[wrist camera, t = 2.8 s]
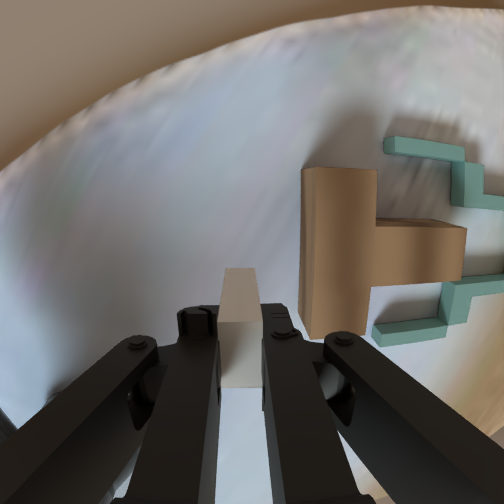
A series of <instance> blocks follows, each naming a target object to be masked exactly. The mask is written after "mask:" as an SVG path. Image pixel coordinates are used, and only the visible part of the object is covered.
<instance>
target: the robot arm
mask: <svg viewBox="0 0 504 504" xmlns="http://www.w3.org/2000/svg"><path fill="white" fill-rule="evenodd" d="M177 320H178V330H179V337H178V340H177V343H175V344H172V345H167V346H161V347H157V343H156V340H155V339H154V338H152V337H149V336H142V335H137V336H136V335H135V336H132V337H129V338H126V339H124V340H123V341H121V342H120V343H119V344H117V345H116V346H115V347H114V348H113V349H112V350H110V351H109V352H108V353H107V354H106V355H104V356H103V357H102V358H101V359H100V360H98V361H97V362H96V363H95V364H94V365H93V366H91V367H90V368H89V369H88V370H87V371H85V372H84V373H83V374H82V375H81V376H80V377H78V378H77V379H76V380H75V381H74V382H73V383H71V384H70V385H69V386H68V387H67V388H66V389H64V390H63V391H62V392H59V393H56V394H54V395H53V396H51V397H50V398H49V399H48V401H47V402H46V403H45V405H44V406H43V407H42V409H41V410H40V411H39V412H38V413H36V414H35V415H34V416H33V417H32V418H31V419H30V420H28V421H27V422H26V423H25V424H24V425H23V426H21V427H20V428H19V429H17V428H16V426H15V425H14V424H13V423H12V422H11V420H10V419H9V418H8V417H7V416H6V414H5V413H4V412H3V411H2V409H1V408H0V504H215V489H216V471H217V455H218V439H219V424H220V409H221V388H262V411H264V417H265V427H266V438H267V448H268V458H269V468H270V478H271V488H272V498H273V504H376V503H375V501H374V499H373V498H372V497H371V496H370V495H369V494H366V495H362V494H361V493H360V492H359V490H358V488H357V485H356V482H355V479H354V476H353V474H352V471H351V468H350V465H349V462H348V459H347V457H346V454H345V451H344V448H343V445H342V443H341V440H340V437H339V434H338V431H339V433H340V434H341V435H342V437H343V438H344V439H345V441H346V442H347V443H348V444H349V446H350V447H351V448H352V450H353V451H354V452H355V453H356V455H357V456H358V457H359V459H360V460H361V461H362V462H363V464H364V465H365V466H366V467H367V469H368V470H369V471H370V472H371V474H372V475H373V476H374V477H375V479H376V480H377V481H378V482H379V484H380V485H381V486H382V487H383V489H384V490H385V491H386V492H387V494H388V495H389V496H390V497H391V499H392V500H393V501H394V502H395V503H396V504H504V449H503V448H502V447H500V446H499V445H498V444H497V443H495V442H494V441H493V440H491V439H490V438H489V437H488V436H486V435H485V434H484V433H483V432H481V431H480V430H479V429H478V428H476V427H475V426H474V425H472V424H471V423H470V422H469V421H467V420H466V419H465V418H464V417H462V416H461V415H460V414H458V413H457V412H456V411H455V410H453V409H452V408H451V407H450V406H448V405H447V404H446V403H444V402H443V401H442V400H441V399H439V398H438V397H437V396H435V395H434V394H433V393H432V392H430V391H429V390H428V389H427V388H425V387H424V386H423V385H421V384H420V383H419V382H418V381H416V380H415V379H414V378H413V377H411V376H410V375H409V374H407V373H406V372H405V371H404V370H402V369H401V368H400V367H399V366H397V365H396V364H395V363H393V362H392V361H391V360H390V359H388V358H387V357H386V356H384V355H383V354H382V353H381V352H379V351H378V350H377V349H376V348H374V347H373V346H372V345H370V344H369V343H368V342H367V341H365V340H364V339H363V338H362V337H360V336H358V335H357V334H355V333H351V332H349V331H345V332H344V331H339V332H332V333H329V334H328V335H326V336H325V339H324V343H316V342H310V341H306V340H304V339H303V336H302V334H301V332H300V331H299V330H297V329H295V328H294V326H293V323H292V321H291V318H290V315H289V312H288V309H287V307H285V306H284V305H283V304H281V303H271V304H260V299H259V293H258V286H257V280H256V274H255V268H226V270H225V276H224V282H223V288H222V295H221V301H220V305H200V306H195V307H188V308H184V309H182V310H180V311H179V312H178V313H177ZM128 393H129V395H128ZM337 430H338V431H337ZM132 472H133V473H132ZM131 473H132V476H131V479H130V483H129V486H128V489H127V492H126V494H125V496H124V497H123V498H116V497H115V498H114V499H113V497H114V494H115V491H116V490H117V489H118V488H119V487H120V486H121V485H122V483H123V482H124V481H125V480H126V479H127V478H128V477H129V476H130V474H131Z"/></svg>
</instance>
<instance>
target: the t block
mask: <svg viewBox="0 0 504 504" xmlns="http://www.w3.org/2000/svg"><path fill="white" fill-rule="evenodd" d="M376 197H377V170H369V169H353V168H332V167H312V168H306V169H301V230H300V272H299V300H298V313H299V316H300V318H301V320H302V322H303V325H304V327H305V329H306V331H307V334H308V336H309V338H310V340H312V339H325V336H326V335H328V334H329V333H332V332H339V331H344V332H345V331H349V332H351V333H355V334H357V335H358V336H362V335H365V332H366V325H367V317H368V309H369V300H370V291H371V287H374V286H391V285H406V284H421V283H435V282H448V281H460V280H461V276H462V269H463V262H464V254H465V245H466V235H467V228H464V227H461V226H457V225H453V224H449V223H445V222H441V221H437V220H430V219H394V218H376Z"/></svg>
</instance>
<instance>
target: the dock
mask: <svg viewBox="0 0 504 504" xmlns="http://www.w3.org/2000/svg"><path fill="white" fill-rule="evenodd" d="M384 154H394V155H404V156H412V157H421V158H428V159H436V160H443V161H450V162H451V163H452V176H451V205H454V206H459V207H466V208H479V209H492V210H503V211H504V197H503V196H495V195H487V194H483V186H484V165H482V164H476V163H471V162H465V147H460V146H455V145H450V144H444V143H439V142H433V141H426V140H420V139H413V138H406V137H399V136H393V137H389V138H385V139H384ZM503 292H504V274H495V275H483V276H471V277H461V280H460V281H448V282H443V286H442V293H441V299H440V304H439V310H438V315H437V317H435V318H428V319H420V320H412V321H403V322H394V323H385V324H375V325H373V329H372V336H371V337H372V338H373V339H374V341H375V342H376V343H377V344H378V346H379V347H386V346H393V345H401V344H408V343H414V342H421V341H427V340H433V339H439V338H444V337H446V332H447V328H448V325H454V324H460V323H466V322H467V318H468V313H469V309H470V304H471V298H472V297H474V296H481V295H489V294H496V293H503Z"/></svg>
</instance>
